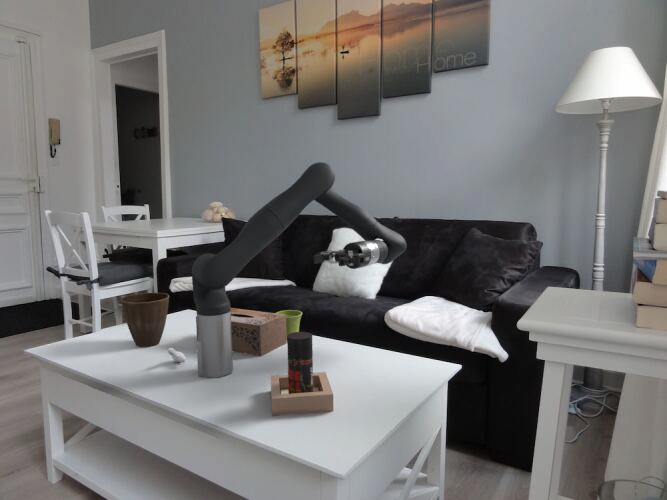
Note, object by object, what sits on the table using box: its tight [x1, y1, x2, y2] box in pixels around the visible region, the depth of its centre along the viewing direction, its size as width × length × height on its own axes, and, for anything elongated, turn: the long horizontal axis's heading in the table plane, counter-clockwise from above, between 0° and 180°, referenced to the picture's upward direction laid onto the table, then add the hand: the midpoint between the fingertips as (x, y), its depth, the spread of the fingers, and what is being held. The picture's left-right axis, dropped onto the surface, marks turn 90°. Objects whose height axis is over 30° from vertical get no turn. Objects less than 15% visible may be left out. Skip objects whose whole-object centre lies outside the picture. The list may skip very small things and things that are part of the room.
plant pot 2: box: [275, 309, 303, 336], centre depth 168 cm, size 9×9×9 cm
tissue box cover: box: [195, 307, 287, 357], centre depth 162 cm, size 26×14×10 cm, turn 63°
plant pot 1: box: [120, 292, 170, 348], centre depth 163 cm, size 15×15×16 cm
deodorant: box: [286, 331, 314, 394], centre depth 118 cm, size 6×6×15 cm
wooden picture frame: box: [270, 371, 334, 416], centre depth 118 cm, size 14×14×4 cm
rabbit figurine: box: [167, 347, 186, 366], centre depth 144 cm, size 6×4×8 cm
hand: (326, 260), depth 129 cm, fingers open, 8 cm apart
